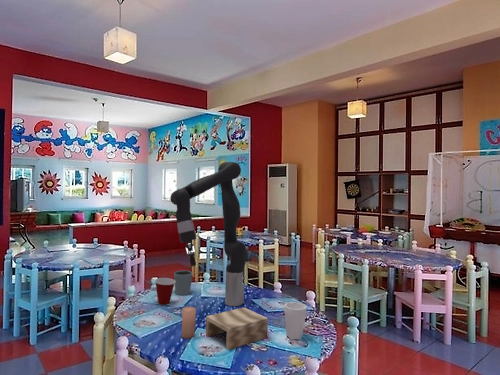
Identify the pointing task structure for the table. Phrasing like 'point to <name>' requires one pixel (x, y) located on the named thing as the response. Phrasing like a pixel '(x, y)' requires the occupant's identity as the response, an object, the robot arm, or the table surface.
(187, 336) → the tan dome-topped peg
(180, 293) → the drinking glass
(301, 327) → the foam cup
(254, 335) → the wooden stand
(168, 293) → the plastic cup
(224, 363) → the table surface
